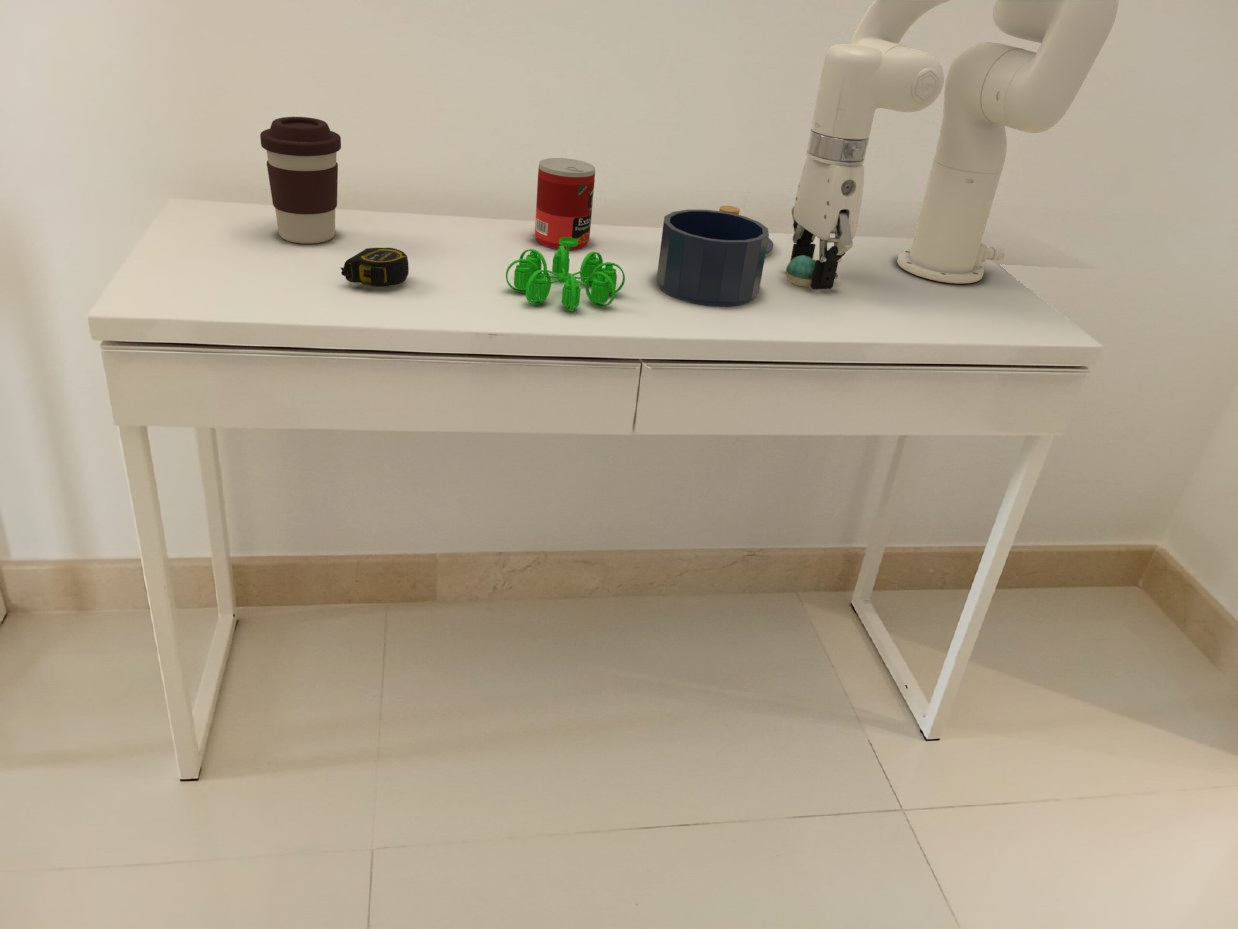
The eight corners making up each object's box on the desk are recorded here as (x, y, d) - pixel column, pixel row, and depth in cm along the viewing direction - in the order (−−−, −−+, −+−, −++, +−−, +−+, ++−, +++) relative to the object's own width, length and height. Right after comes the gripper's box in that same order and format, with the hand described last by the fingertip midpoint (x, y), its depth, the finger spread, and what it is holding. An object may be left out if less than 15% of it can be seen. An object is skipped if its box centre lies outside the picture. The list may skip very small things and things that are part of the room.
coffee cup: (287, 220, 139) (279, 110, 132) (355, 230, 138) (351, 119, 131) (255, 241, 131) (245, 124, 123) (328, 252, 130) (321, 134, 122)
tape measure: (368, 269, 126) (367, 241, 124) (418, 279, 124) (418, 250, 123) (341, 286, 120) (339, 256, 118) (392, 297, 119) (392, 267, 117)
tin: (732, 268, 140) (742, 209, 136) (774, 305, 129) (786, 241, 125) (642, 270, 136) (649, 209, 131) (677, 308, 125) (686, 242, 120)
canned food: (582, 253, 139) (588, 175, 134) (527, 245, 140) (531, 166, 135) (594, 238, 146) (601, 162, 140) (542, 230, 147) (546, 154, 141)
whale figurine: (776, 275, 139) (781, 249, 137) (822, 274, 142) (827, 248, 140) (796, 290, 135) (801, 263, 133) (843, 289, 137) (848, 262, 135)
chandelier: (633, 317, 120) (639, 263, 117) (509, 314, 118) (511, 258, 114) (613, 274, 133) (618, 223, 130) (501, 270, 130) (503, 218, 127)
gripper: (896, 165, 123) (864, 302, 132) (830, 132, 137) (805, 258, 146) (844, 164, 121) (814, 303, 130) (782, 131, 135) (759, 259, 144)
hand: (810, 278), depth 138 cm, fingers closed on whale figurine, 5 cm apart
